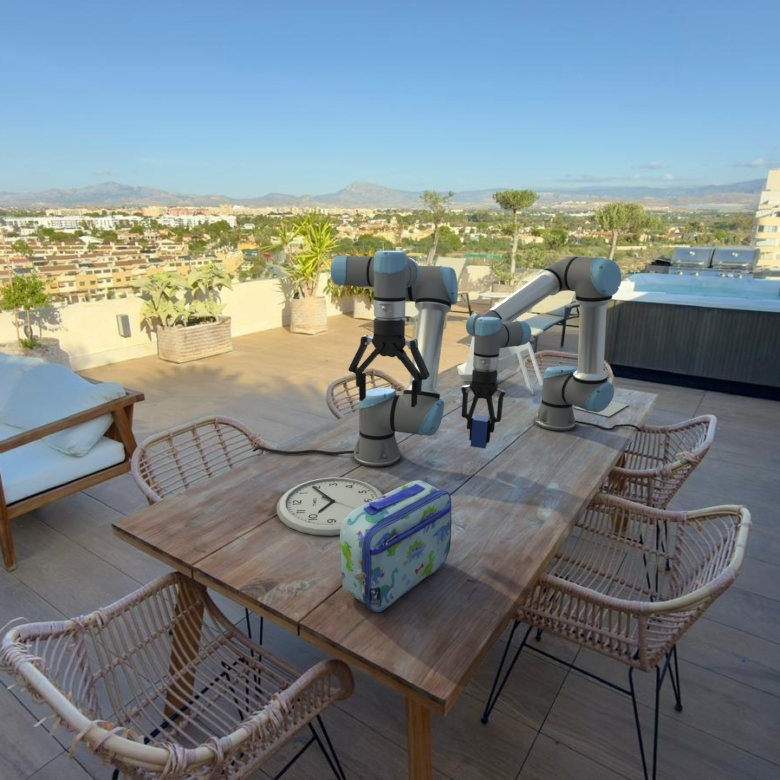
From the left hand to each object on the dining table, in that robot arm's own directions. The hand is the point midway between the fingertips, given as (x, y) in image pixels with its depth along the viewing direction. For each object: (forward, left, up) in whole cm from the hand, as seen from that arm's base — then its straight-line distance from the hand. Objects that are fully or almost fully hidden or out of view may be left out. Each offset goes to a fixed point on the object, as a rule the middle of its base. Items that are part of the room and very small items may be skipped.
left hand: (387, 402), depth 131 cm
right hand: (+16, +38, -22) cm, 47 cm away
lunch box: (+14, -26, -31) cm, 43 cm away
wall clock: (-15, -3, -31) cm, 34 cm away
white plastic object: (+4, +127, -31) cm, 131 cm away
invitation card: (+51, +119, -31) cm, 133 cm away
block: (+16, +38, -24) cm, 47 cm away
